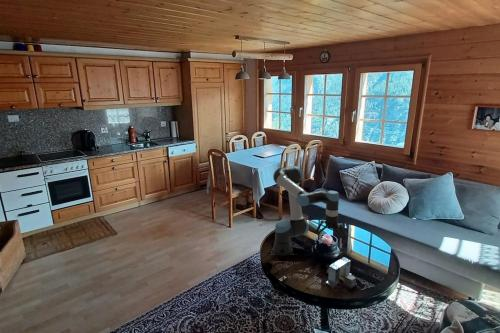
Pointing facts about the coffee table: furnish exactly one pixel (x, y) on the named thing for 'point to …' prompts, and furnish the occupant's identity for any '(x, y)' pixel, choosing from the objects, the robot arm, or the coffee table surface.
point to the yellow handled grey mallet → (347, 280)
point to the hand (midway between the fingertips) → (330, 245)
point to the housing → (338, 271)
